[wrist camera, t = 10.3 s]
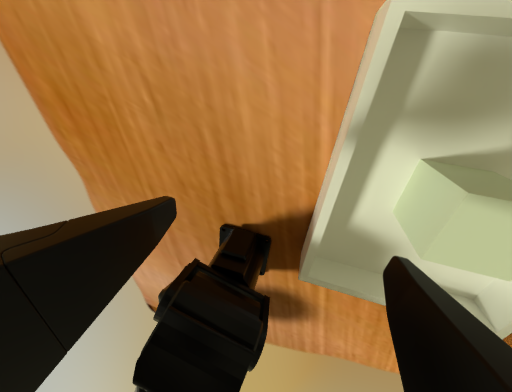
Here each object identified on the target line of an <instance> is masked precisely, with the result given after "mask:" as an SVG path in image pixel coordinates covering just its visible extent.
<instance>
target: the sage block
mask: <svg viewBox="0 0 512 392" xmlns="http://www.w3.org/2000/svg"><path fill="white" fill-rule="evenodd" d="M392 212H393V213H394V215H395V217H396V218H397V220H398V222H399V224H400V225H401V227H402V229H403V230H404V232H405V234H406V235H407V237H408V239H409V240H410V242H411V244H412V246H413V247H414V249H415V251H416V252H417V254H418V256H419V257H420V259H422V260H426V261H430V262H434V263H438V264H442V265H446V266H450V267H454V268H458V269H462V270H466V271H470V272H474V273H478V274H482V275H486V276H490V277H494V278H498V279H502V280H506V281H510V282H511V281H512V180H510V179H508V178H506V177H504V176H502V175H500V174H498V173H496V172H493V171H487V170H481V169H475V168H469V167H463V166H458V165H452V164H446V163H440V162H434V161H429V160H423V159H420V161H419V163H418V165H417V166H416V168H415V170H414V172H413V174H412V176H411V178H410V180H409V181H408V183H407V185H406V187H405V189H404V191H403V193H402V195H401V196H400V198H399V200H398V202H397V204H396V206H395V208H394V209H393V211H392Z"/></svg>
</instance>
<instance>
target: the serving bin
mask: <svg viewBox="0 0 512 392" xmlns="http://www.w3.org/2000/svg"><path fill="white" fill-rule="evenodd" d="M420 159H423V160H429V161H434V162H440V163H446V164H452V165H458V166H463V167H469V168H475V169H481V170H487V171H493V172H496V173H498V174H500V175H502V176H504V177H506V178H508V179H510V180H512V0H386V1H385V2H384V4H383V5H382V6H381V8H380V9H379V10H378V11H377V13H376V15H375V18H374V21H373V25H372V28H371V31H370V34H369V37H368V40H367V44H366V47H365V50H364V53H363V56H362V60H361V63H360V66H359V69H358V72H357V76H356V79H355V82H354V85H353V88H352V92H351V95H350V98H349V101H348V104H347V107H346V111H345V114H344V117H343V120H342V123H341V127H340V130H339V133H338V136H337V139H336V143H335V146H334V149H333V152H332V155H331V158H330V162H329V165H328V168H327V171H326V174H325V178H324V181H323V184H322V187H321V190H320V194H319V197H318V200H317V203H316V206H315V210H314V213H313V216H312V219H311V222H310V225H309V229H308V232H307V235H306V238H305V241H304V245H303V248H302V251H301V257H300V267H299V276H298V280H302V281H305V282H308V283H312V284H315V285H318V286H322V287H325V288H328V289H332V290H335V291H338V292H342V293H345V294H348V295H351V296H355V297H358V298H361V299H365V300H368V301H371V302H375V303H378V304H381V305H385V306H386V302H385V293H384V284H383V271H384V269H385V267H386V266H387V264H388V263H389V261H390V260H391V258H392V257H393V256H400V257H404V258H407V259H409V260H410V261H411V262H412V263H413V264H414V265H416V266H417V267H418V268H419V269H420V270H421V271H423V272H424V273H425V274H426V275H427V276H428V277H430V278H431V279H432V280H433V281H434V282H435V283H437V284H438V285H439V286H440V287H441V288H442V289H444V290H445V291H446V292H447V293H448V294H449V295H451V296H452V297H453V298H454V299H455V300H456V301H458V302H459V303H460V304H461V305H462V306H463V307H465V308H466V309H467V310H468V311H469V312H470V313H472V314H473V315H474V316H475V317H476V318H477V319H479V320H480V321H481V322H482V323H483V324H484V325H486V326H487V327H488V328H489V329H490V330H492V331H493V332H494V333H495V334H496V335H497V336H499V337H500V338H501V339H504V338H505V337H507V336H508V335H510V334H511V333H512V281H511V282H510V281H506V280H502V279H498V278H494V277H490V276H486V275H482V274H478V273H474V272H470V271H466V270H462V269H458V268H454V267H450V266H446V265H442V264H438V263H434V262H430V261H426V260H422V259H420V257H419V256H418V254H417V252H416V251H415V249H414V247H413V246H412V244H411V242H410V240H409V239H408V237H407V235H406V234H405V232H404V230H403V229H402V227H401V225H400V224H399V222H398V220H397V218H396V217H395V215H394V213H393V212H392V211H393V209H394V208H395V206H396V204H397V202H398V200H399V198H400V196H401V195H402V193H403V191H404V189H405V187H406V185H407V183H408V181H409V180H410V178H411V176H412V174H413V172H414V170H415V168H416V166H417V165H418V163H419V161H420Z"/></svg>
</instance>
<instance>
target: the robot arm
mask: <svg viewBox="0 0 512 392" xmlns="http://www.w3.org/2000/svg"><path fill="white" fill-rule="evenodd" d="M176 215H177V212H176V201H175V199H174V198H172V197H168V196H163V197H159V198H155V199H151V200H147V201H143V202H139V203H135V204H131V205H127V206H123V207H119V208H115V209H111V210H107V211H103V212H99V213H95V214H91V215H87V216H83V217H79V218H75V219H71V220H69V221H63V222H58V223H54V224H50V225H47V226H42V227H38V228H34V229H29V230H24V231H20V232H15V233H11V234H6V235H1V236H0V392H35V391H36V390H37V389H38V387H39V386H40V385H41V384H42V383H43V381H44V380H45V379H46V378H47V377H48V375H49V374H50V373H51V372H52V371H53V370H54V368H55V367H56V366H57V365H58V364H59V362H60V361H61V360H62V359H63V358H64V356H65V355H66V354H67V352H68V351H69V350H70V349H71V348H72V346H73V345H74V344H75V343H76V342H77V341H78V339H79V338H80V337H81V336H82V335H83V333H84V332H85V331H86V330H87V328H88V327H89V326H90V325H91V324H92V323H93V321H94V320H95V319H96V318H97V317H98V315H99V314H100V313H101V312H102V311H103V309H104V308H105V307H106V306H107V305H108V303H109V302H110V301H111V300H112V299H113V298H114V296H115V295H116V294H117V293H118V292H119V290H120V289H121V288H122V286H123V285H124V284H125V283H126V282H127V281H128V280H129V278H130V277H131V276H132V275H133V274H134V272H135V271H136V270H137V269H138V268H139V266H140V265H141V264H142V263H143V262H144V260H145V259H146V258H147V257H148V256H149V255H150V253H151V252H152V251H153V250H154V248H155V247H156V246H157V245H158V243H159V242H160V240H161V239H162V237H163V236H164V234H165V233H166V232H167V230H168V229H169V227H170V226H171V224H172V223H173V221H174V220H175V218H176ZM223 228H224V229H223ZM266 240H268V241H266ZM270 245H271V238H270V237H268V236H264V235H261V234H257V233H253V232H250V231H246V230H242V229H239V228H235V227H231V226H228V225H222V226H221V227H220V241H219V249H218V251H217V252H216V254H215V256H214V257H213V259H212V261H211V262H210V264H209V265H208V266H207V265H205V264H203V263H202V262H200V260H198V259H196V258H195V259H194V260H193V262H192V263H189V264H188V265H187V266H185V268H184V269H183V270H182V272H181V273H180V274H179V275H178V277H177V278H176V279H175V280H174V281H173V282H171V283H170V284H169V285H168V286H167V287H165V288H164V289H163V290H162V291H161V292H160V294H159V296H158V298H159V305H158V307H157V310H156V313H155V315H154V320H155V321H157V322H158V324H157V325H156V327H155V329H154V330H153V332H152V334H151V336H150V337H149V339H148V341H147V342H146V344H145V346H144V348H143V350H142V352H141V355H140V357H139V358H138V360H137V362H136V366H135V371H134V376H133V384H135V385H136V386H137V392H239V391H240V388H241V386H242V383H243V381H244V378H245V375H246V373H247V371H249V372H250V371H252V370H253V369H254V367H255V366H256V364H257V362H258V360H259V358H260V355H261V353H262V350H263V347H264V344H265V340H266V335H267V328H268V315H269V301H270V297H268V296H266V295H262V294H260V293H258V292H256V291H255V290H254V289H255V286H256V283H257V280H258V276H259V275H264V273H265V269H266V264H267V259H268V254H269V249H270ZM383 284H384V293H385V302H386V311H387V318H388V323H389V327H390V332H391V336H392V340H393V345H394V349H395V354H396V358H397V362H398V367H399V371H400V376H401V380H402V384H403V389H404V392H512V348H511V347H510V346H509V345H508V344H507V343H506V342H504V341H503V340H502V339H501V338H500V337H499V336H497V335H496V334H495V333H494V332H493V331H492V330H490V329H489V328H488V327H487V326H486V325H484V324H483V323H482V322H481V321H480V320H479V319H477V318H476V317H475V316H474V315H473V314H472V313H470V312H469V311H468V310H467V309H466V308H465V307H463V306H462V305H461V304H460V303H459V302H458V301H456V300H455V299H454V298H453V297H452V296H451V295H449V294H448V293H447V292H446V291H445V290H444V289H442V288H441V287H440V286H439V285H438V284H437V283H435V282H434V281H433V280H432V279H431V278H430V277H428V276H427V275H426V274H425V273H424V272H423V271H421V270H420V269H419V268H418V267H417V266H416V265H414V264H413V263H412V262H411V261H410V260H409V259H407V258H404V257H400V256H393V257H392V258H391V260H390V261H389V263H388V264H387V266H386V267H385V269H384V271H383Z"/></svg>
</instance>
